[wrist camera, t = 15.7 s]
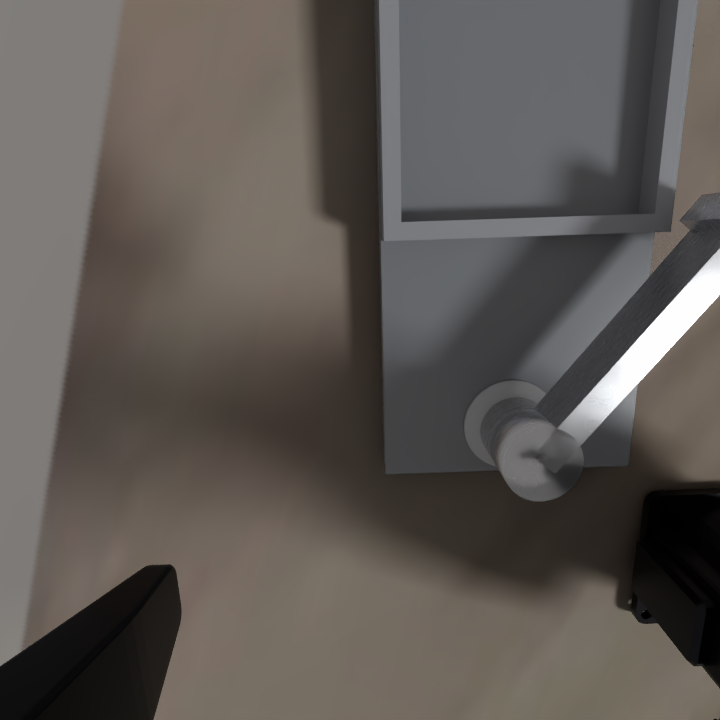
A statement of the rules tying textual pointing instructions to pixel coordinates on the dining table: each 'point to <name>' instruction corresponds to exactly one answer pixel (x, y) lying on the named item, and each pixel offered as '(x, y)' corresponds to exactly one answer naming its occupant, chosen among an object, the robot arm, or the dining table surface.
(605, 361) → the pivoting lever handle
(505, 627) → the dining table surface
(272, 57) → the dining table surface
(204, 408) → the dining table surface
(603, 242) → the socket base
